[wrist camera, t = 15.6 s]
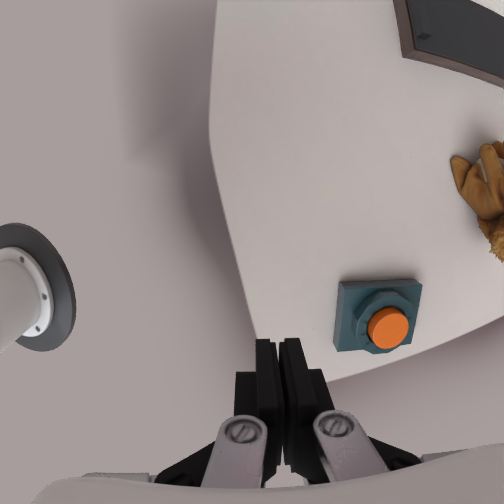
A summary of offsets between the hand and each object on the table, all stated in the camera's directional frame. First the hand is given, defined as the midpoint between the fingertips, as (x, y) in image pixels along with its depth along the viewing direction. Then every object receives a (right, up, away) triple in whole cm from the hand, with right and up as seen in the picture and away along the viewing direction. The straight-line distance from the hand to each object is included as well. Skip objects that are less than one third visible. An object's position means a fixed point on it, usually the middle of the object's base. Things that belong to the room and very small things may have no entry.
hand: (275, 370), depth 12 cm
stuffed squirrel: (+29, +12, +21) cm, 38 cm away
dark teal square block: (+14, -3, +24) cm, 28 cm away
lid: (+26, +32, +12) cm, 42 cm away
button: (+14, -4, +21) cm, 25 cm away
